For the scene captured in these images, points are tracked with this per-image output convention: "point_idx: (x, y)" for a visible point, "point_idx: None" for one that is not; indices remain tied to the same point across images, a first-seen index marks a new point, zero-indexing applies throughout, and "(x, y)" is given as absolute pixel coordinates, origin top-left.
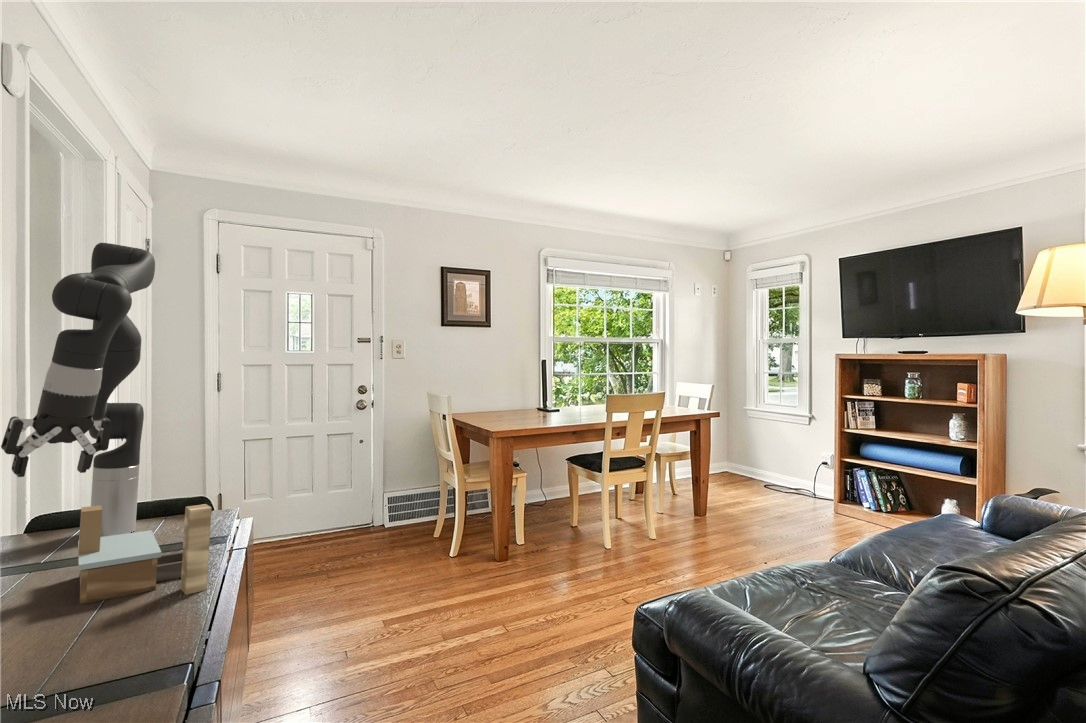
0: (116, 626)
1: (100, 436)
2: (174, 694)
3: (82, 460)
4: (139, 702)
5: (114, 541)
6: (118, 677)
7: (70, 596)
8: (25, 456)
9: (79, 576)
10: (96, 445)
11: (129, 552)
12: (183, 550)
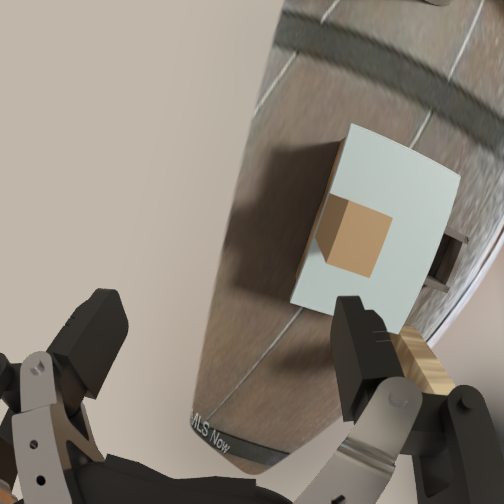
0: (293, 368)
1: (434, 498)
2: (263, 470)
3: (342, 372)
4: (246, 464)
5: (391, 197)
6: (250, 440)
7: (301, 222)
8: (82, 403)
9: (336, 155)
10: (405, 453)
11: (371, 298)
12: (411, 359)
